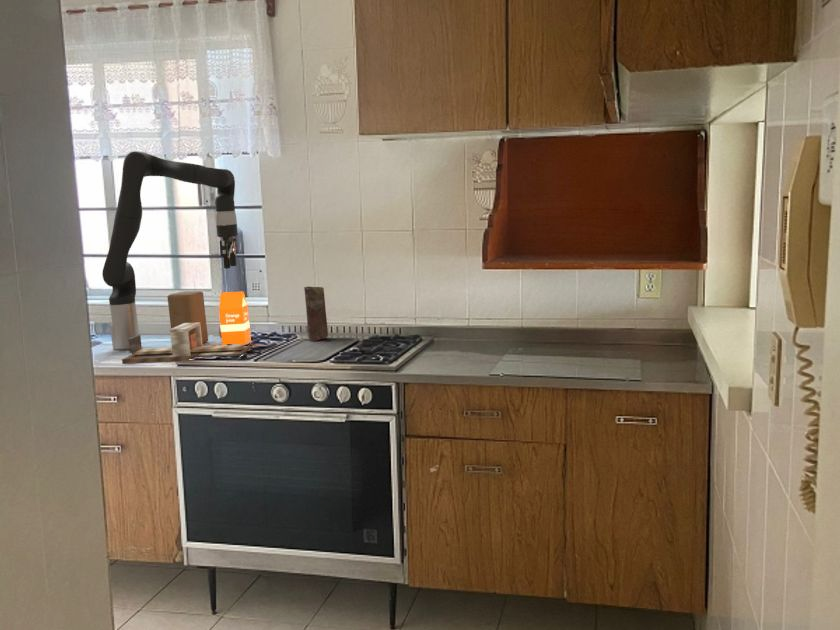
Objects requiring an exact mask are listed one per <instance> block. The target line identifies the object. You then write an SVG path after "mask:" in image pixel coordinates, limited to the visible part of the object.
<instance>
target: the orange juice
mask: <svg viewBox="0 0 840 630" xmlns="http://www.w3.org/2000/svg"><path fill="white" fill-rule="evenodd" d="M219 294H220V295H219V306H218V307H219V308H218V313H219V314H218V315H219V316H218V317H219V327H221V335H222V339H221V343H222V344H221V345H227V344H247V343H248V342H249V341H251V342H252V339H251V337H252V336H251V328H250V327H251V325H250V316H249V307H248V306H249V305H248V302H247V299H246V296H245V293H244V291H229V292H220V293H219Z"/></svg>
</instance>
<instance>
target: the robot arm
mask: <svg viewBox="0 0 840 630" xmlns="http://www.w3.org/2000/svg"><path fill="white" fill-rule="evenodd" d="M121 173H122V175H121V187H120V191H119V195H118V201H117V207H116V210H115V215H114V221H113V227H112V232H111V236H110V244H109V248H108V252H107V255H106V259H105V262H104V265H103V268H102V273H101V274H102V279H103V281H104V283H105V284H106V285H107V286H108V287H112V292H111V294H110V295H109V298H108V301H109V309H110V317H111V318H110V319H111V324H110V325H109V328H110V336H111V343H112V345H111V346H112V350H122V351H123V350H130V348H129V340H128V339H129V338H131V337H134V336H136V335H140V330H139V329H140V328H139V321H138V312H137V306H136V295H137V287H136V276H135V275H136V274H135V270H134V267H133V266H132V265H131V263H130V262H128V255H129V252H130V250H131V248H132V246H133V243H134V242H135V240H136V238H137V236H138V234H139V231H140V228H141V224H142V219H143V205H142V199H141V192H142V191H141V189H142V185H143V180H144V178H146V177H163V178H165V177H166V178H169V179H174V180H177V181H180V182H184V183H188V184H196V185H203V186H207V187H211V188H215V189H216V197H215V198H214V206H215V207H214V208H215V226H216V228H215V229H216V236H217V237H218V238H222V240H219V250H220V251H219V252H220V253H219V254H220V257H221V258H222V259H223V268H224V269H230V268H231V267H237V265H238V264H237V258H236V257H237V254H238V245H237V238H236V237H237V236H238V235H239V232H238V221H237V214H236V208H235V207H236V206H235V191H236V189H235V188H236V182H235V176H234V173H232V171H231V170H229V169H225V168H216V167H208V166H205V165H200V164H195V163H189V162H182V161H173V160H169V159H168V160H167V159H164V158H161V157H158V156H156V155H152V154H149V153H147V152H146V151H139V150H138V151H137V150H134V151H129V153H127V154H126V155H125V157H124V160H123V163H122V172H121Z"/></svg>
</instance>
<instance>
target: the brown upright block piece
mask: <svg viewBox="0 0 840 630" xmlns="http://www.w3.org/2000/svg"><path fill="white" fill-rule="evenodd" d="M303 288H304V289H303V291H304V298H305V311H306V324H307V325H306V326H307V336H308V340H309V342H315V341H319V340H324V339H327V338H328V336H329V330H328V318H327V310H326V297H325V288H324V287H323V286H304V287H303Z"/></svg>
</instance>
